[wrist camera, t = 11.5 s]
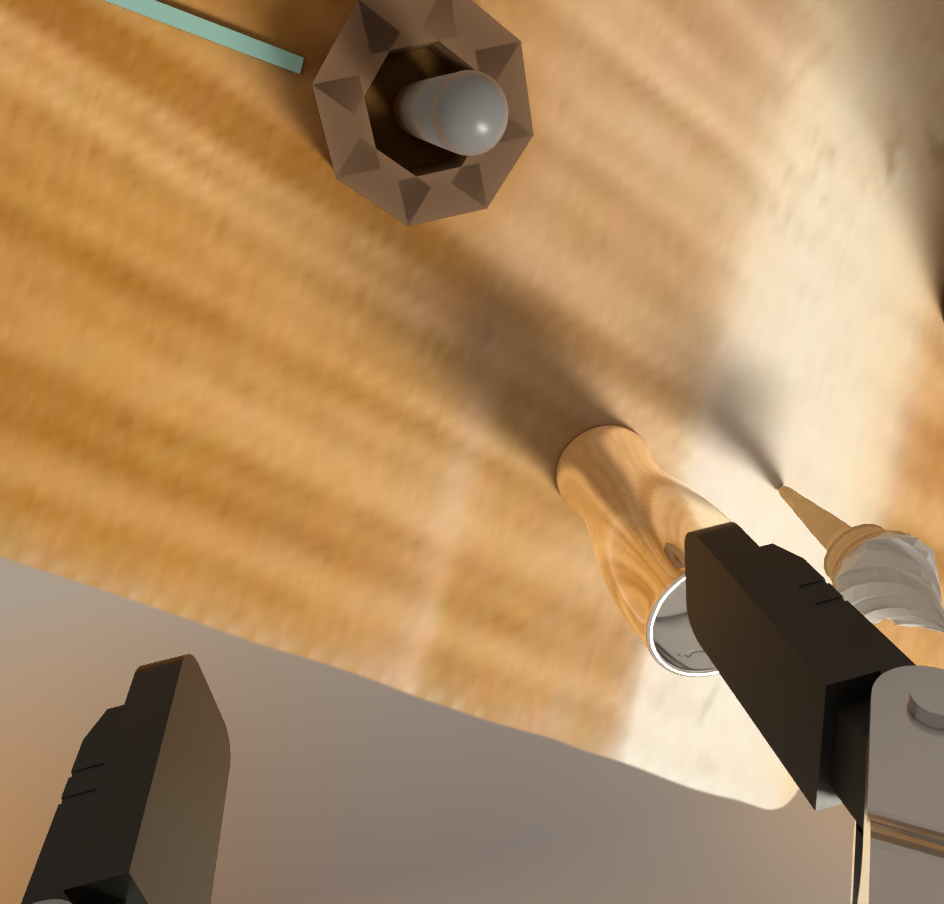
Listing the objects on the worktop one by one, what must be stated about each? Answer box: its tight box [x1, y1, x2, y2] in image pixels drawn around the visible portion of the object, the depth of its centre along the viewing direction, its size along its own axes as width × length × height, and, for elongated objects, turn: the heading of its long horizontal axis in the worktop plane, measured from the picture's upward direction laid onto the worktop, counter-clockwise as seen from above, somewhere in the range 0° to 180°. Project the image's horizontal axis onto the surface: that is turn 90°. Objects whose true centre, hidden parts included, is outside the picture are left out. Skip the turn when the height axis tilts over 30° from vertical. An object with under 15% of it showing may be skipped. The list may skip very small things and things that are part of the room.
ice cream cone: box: [779, 486, 944, 633], centre depth 42 cm, size 6×6×15 cm
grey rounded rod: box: [394, 70, 508, 156], centre depth 28 cm, size 2×2×15 cm
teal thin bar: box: [105, 0, 304, 74], centre depth 31 cm, size 10×1×1 cm, turn 71°
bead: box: [312, 0, 533, 226], centre depth 33 cm, size 9×9×4 cm
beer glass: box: [556, 425, 732, 677], centre depth 39 cm, size 7×7×15 cm
